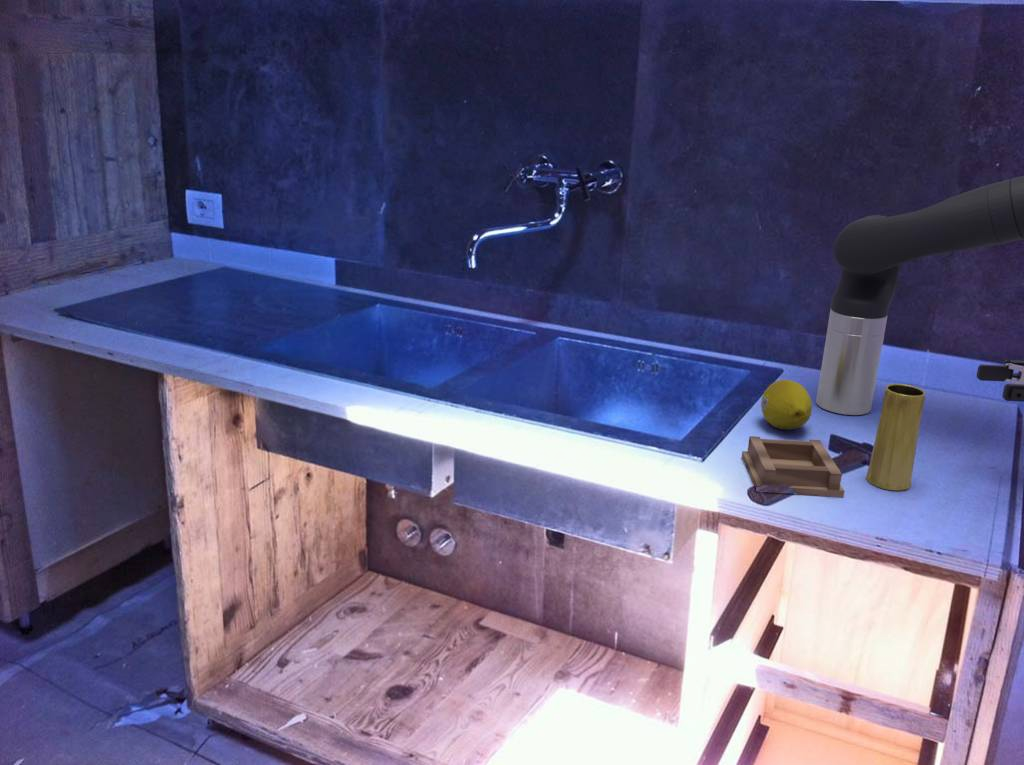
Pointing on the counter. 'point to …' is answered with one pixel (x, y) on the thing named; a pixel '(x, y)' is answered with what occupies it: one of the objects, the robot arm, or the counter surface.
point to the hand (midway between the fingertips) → (991, 382)
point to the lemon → (786, 405)
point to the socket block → (793, 466)
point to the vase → (896, 438)
